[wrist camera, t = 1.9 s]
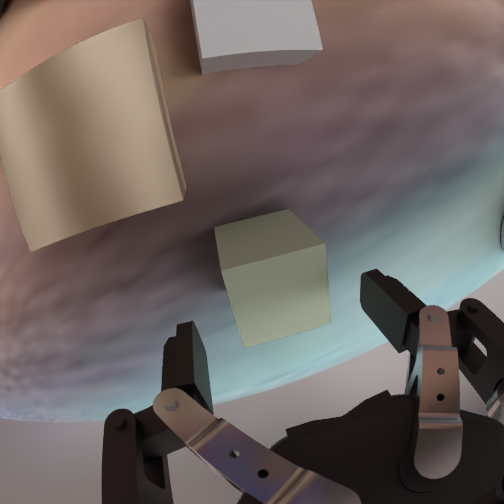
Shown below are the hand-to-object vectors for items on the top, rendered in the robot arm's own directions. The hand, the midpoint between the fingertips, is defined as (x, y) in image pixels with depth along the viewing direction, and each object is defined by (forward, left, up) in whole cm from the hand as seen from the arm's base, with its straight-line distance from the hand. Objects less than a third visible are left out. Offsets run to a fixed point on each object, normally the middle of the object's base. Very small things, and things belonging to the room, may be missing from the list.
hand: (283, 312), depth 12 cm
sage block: (0, 0, -7) cm, 7 cm away
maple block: (+8, -10, -8) cm, 15 cm away
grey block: (-2, -15, -8) cm, 17 cm away
